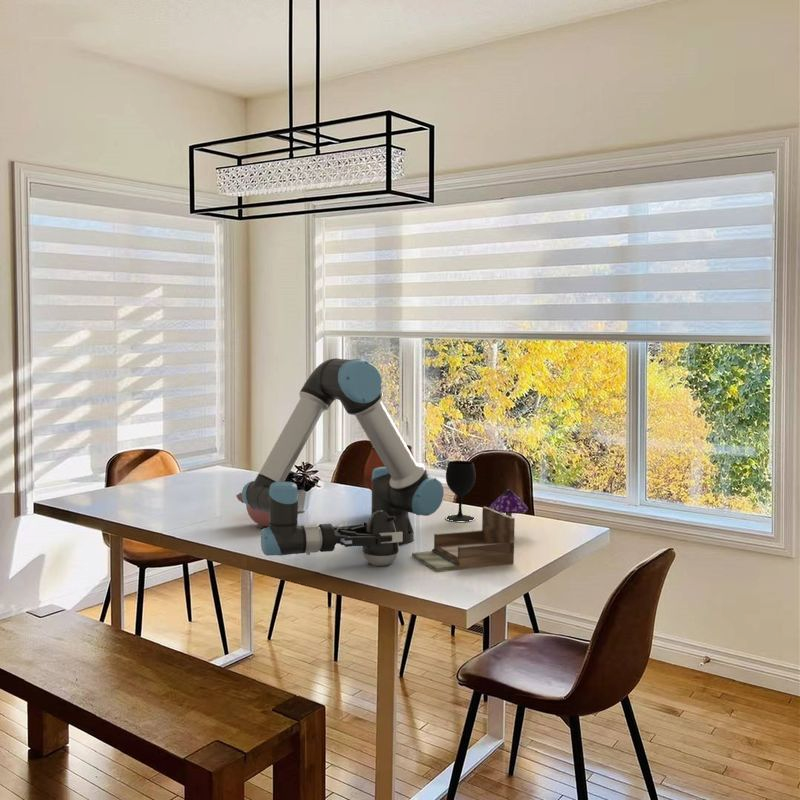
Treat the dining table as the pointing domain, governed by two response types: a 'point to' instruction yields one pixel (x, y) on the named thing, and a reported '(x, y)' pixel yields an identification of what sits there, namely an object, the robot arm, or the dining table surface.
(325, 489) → the dining table surface
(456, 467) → the wine glass
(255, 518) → the pink round body
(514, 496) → the decorative mushroom
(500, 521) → the brown wooden tray
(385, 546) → the dark grey figurine
